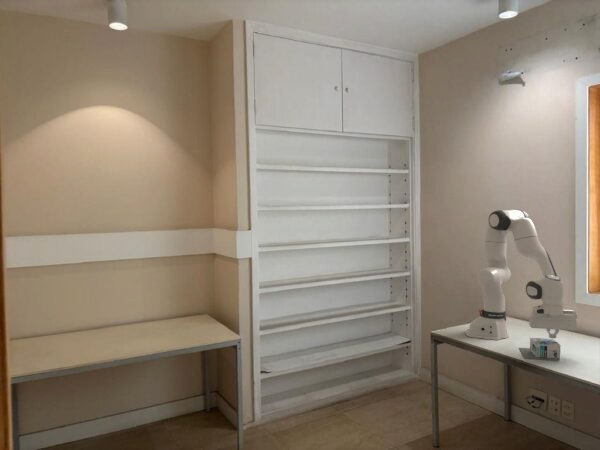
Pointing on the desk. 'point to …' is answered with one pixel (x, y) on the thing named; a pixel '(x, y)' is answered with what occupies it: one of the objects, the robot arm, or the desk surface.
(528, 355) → the rubber mat
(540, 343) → the light bulb box
